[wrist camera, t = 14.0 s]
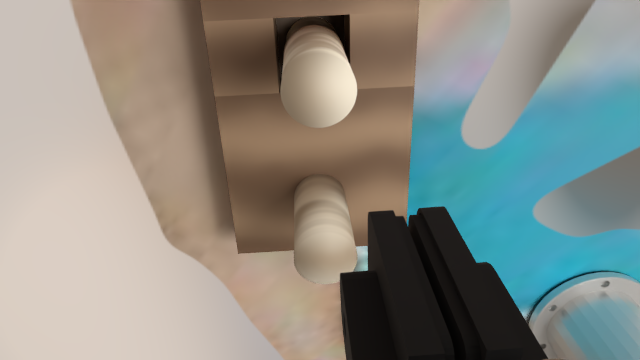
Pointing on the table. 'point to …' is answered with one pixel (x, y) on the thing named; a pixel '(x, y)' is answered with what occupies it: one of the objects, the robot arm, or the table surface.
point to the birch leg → (316, 75)
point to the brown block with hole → (312, 130)
